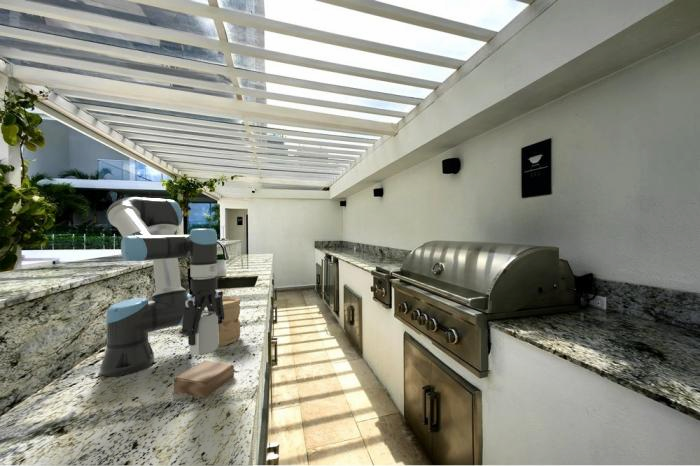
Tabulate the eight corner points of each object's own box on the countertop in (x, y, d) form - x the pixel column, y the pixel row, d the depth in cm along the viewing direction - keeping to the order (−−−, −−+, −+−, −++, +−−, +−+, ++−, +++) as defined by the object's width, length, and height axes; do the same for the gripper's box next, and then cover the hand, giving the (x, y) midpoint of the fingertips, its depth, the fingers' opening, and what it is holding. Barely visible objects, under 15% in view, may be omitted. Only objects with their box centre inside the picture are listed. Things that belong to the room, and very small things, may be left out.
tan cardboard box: (173, 391, 83) (173, 377, 83) (204, 371, 94) (204, 359, 94) (206, 398, 80) (205, 383, 80) (234, 376, 91) (233, 364, 91)
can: (207, 357, 82) (206, 317, 82) (185, 355, 84) (185, 316, 84) (223, 346, 90) (223, 310, 90) (203, 345, 91) (203, 309, 91)
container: (225, 348, 113) (225, 305, 113) (202, 344, 117) (201, 302, 117) (246, 337, 125) (246, 297, 125) (224, 333, 129) (224, 295, 129)
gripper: (186, 283, 76) (187, 365, 76) (235, 272, 95) (236, 337, 96) (165, 282, 78) (166, 362, 78) (218, 272, 97) (218, 335, 98)
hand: (205, 348), depth 87 cm, fingers closed on can, 7 cm apart
